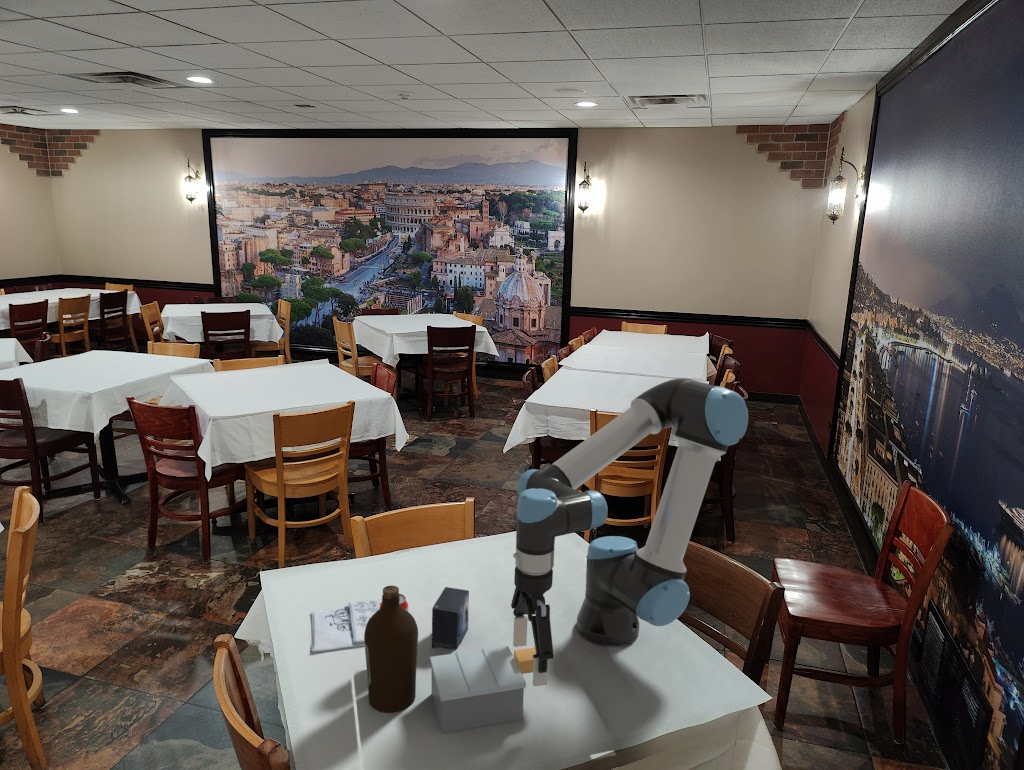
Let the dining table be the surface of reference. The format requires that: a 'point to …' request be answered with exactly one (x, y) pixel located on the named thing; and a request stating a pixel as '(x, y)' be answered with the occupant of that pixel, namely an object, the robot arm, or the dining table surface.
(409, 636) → the brown tall rounded piece
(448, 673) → the lid
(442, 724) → the tub
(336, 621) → the white printed cloths
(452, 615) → the small box
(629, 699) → the dining table surface
